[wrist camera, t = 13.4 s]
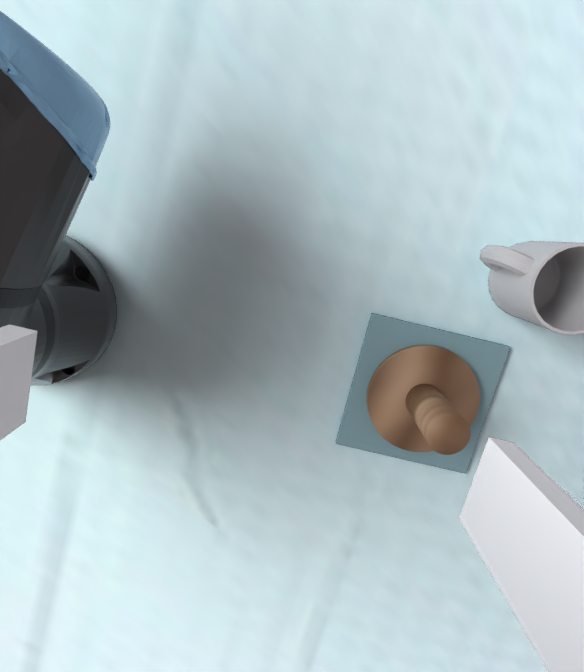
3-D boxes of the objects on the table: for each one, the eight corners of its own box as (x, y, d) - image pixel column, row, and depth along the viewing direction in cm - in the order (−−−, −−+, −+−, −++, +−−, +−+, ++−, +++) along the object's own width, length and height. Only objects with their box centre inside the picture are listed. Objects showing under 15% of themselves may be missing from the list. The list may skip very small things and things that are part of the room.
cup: (534, 328, 47) (588, 350, 38) (447, 282, 46) (481, 293, 37) (576, 262, 45) (642, 269, 36) (487, 213, 44) (533, 208, 36)
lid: (354, 434, 49) (366, 479, 40) (383, 333, 46) (402, 357, 38) (457, 457, 49) (491, 507, 40) (490, 358, 47) (534, 387, 38)
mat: (335, 441, 49) (336, 443, 49) (371, 313, 47) (372, 314, 46) (464, 470, 50) (466, 473, 49) (507, 345, 47) (510, 347, 46)
